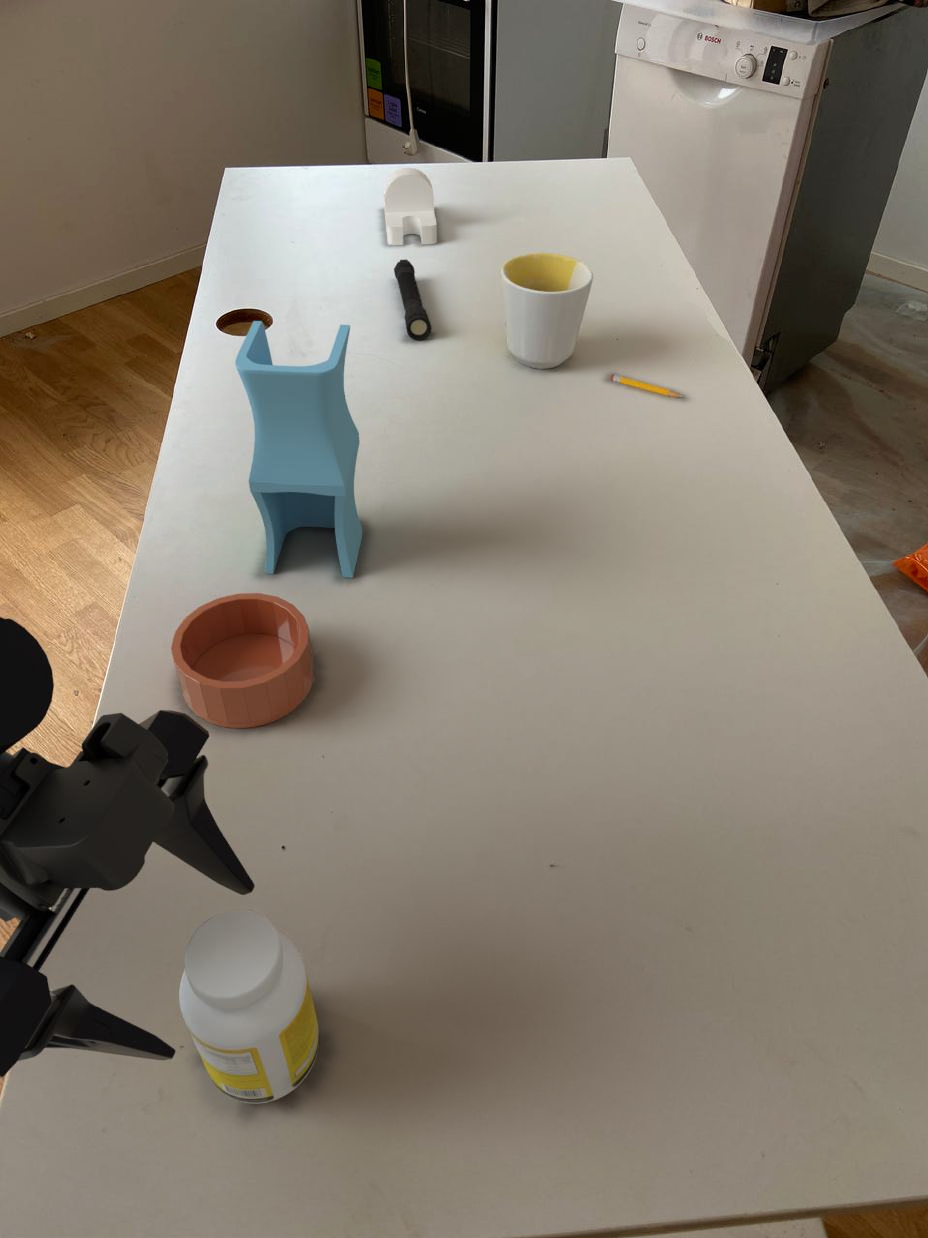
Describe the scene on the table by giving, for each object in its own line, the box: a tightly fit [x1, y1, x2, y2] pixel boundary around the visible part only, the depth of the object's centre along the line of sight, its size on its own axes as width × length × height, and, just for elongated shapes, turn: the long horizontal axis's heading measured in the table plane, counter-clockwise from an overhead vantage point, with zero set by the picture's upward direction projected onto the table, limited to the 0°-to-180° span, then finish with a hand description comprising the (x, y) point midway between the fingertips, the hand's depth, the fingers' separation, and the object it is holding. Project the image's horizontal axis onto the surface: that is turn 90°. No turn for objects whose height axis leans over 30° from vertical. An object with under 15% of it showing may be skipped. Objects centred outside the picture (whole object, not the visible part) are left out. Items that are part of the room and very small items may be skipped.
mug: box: [500, 252, 594, 370], centre depth 112 cm, size 14×10×10 cm
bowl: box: [170, 592, 315, 729], centre depth 75 cm, size 10×10×4 cm
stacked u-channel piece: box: [234, 320, 363, 579], centre depth 81 cm, size 8×8×20 cm
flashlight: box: [393, 258, 433, 342], centre depth 122 cm, size 3×16×3 cm, turn 9°
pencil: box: [609, 374, 683, 398], centre depth 109 cm, size 1×8×1 cm, turn 62°
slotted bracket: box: [383, 167, 438, 246], centre depth 139 cm, size 13×7×8 cm, turn 6°
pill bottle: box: [178, 909, 320, 1105], centre depth 52 cm, size 6×6×12 cm
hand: (212, 968), depth 50 cm, fingers open, 9 cm apart
